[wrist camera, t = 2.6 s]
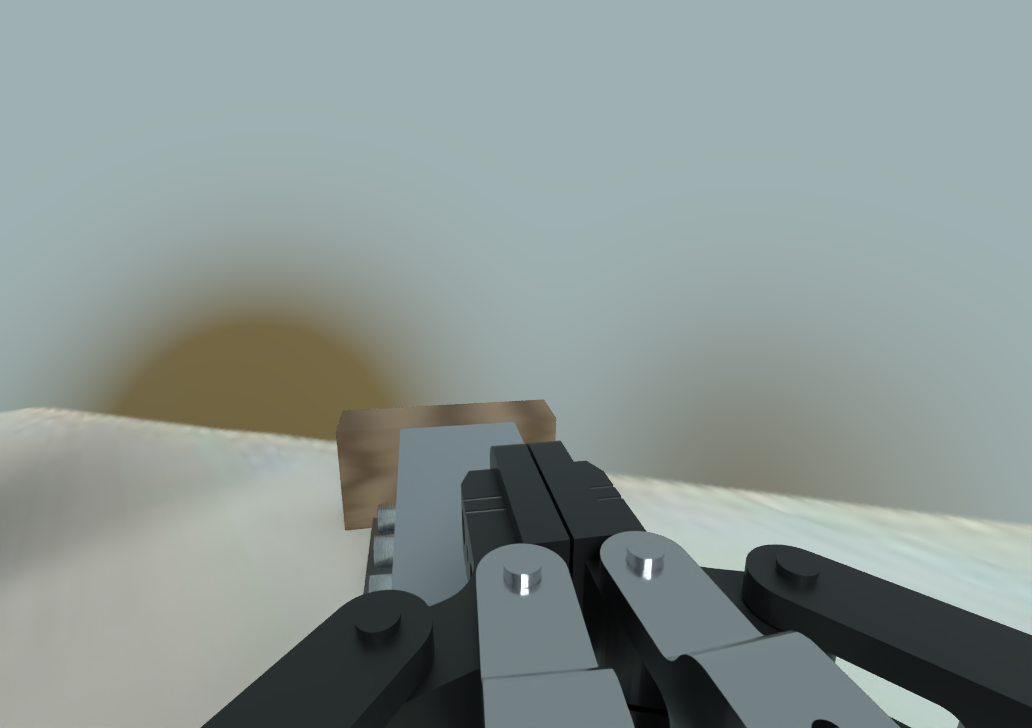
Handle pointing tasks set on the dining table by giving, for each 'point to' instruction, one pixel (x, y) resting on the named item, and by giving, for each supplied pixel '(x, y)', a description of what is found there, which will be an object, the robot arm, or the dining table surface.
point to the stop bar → (376, 440)
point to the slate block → (437, 504)
